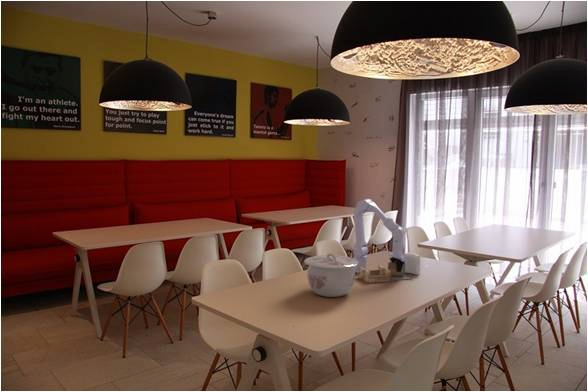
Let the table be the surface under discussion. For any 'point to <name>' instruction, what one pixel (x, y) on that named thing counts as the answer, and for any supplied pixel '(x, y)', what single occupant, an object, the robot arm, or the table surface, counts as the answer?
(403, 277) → the slate mat
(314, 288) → the chamber pot
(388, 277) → the wooden cubby shelf
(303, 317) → the table surface
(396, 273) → the brown and grey block
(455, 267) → the table surface
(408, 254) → the photo printer
